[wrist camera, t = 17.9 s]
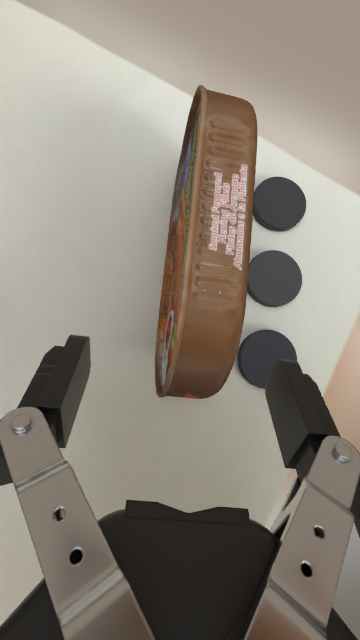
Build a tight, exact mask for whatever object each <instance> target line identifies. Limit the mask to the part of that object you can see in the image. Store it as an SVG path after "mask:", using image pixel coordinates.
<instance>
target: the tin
mask: <svg viewBox="0 0 360 640" xmlns="http://www.w3.org/2000/svg"><path fill="white" fill-rule="evenodd" d="M256 151H257V120H256V114H255V111H254V108H253V106H252V105H251V104H250V103H249V102H248V101H246V100H244V99H241V98H237V97H234V96H230V95H226V94H222V93H218V92H214V91H210V90H207V89H206V88H204V87H203V86H201V85H199V86H198V88H197V90H196V93H195V95H194V98H193V102H192V105H191V109H190V112H189V117H188V121H187V125H186V130H185V135H184V140H183V145H182V151H181V155H180V160H179V165H178V170H177V175H176V181H175V187H174V194H173V202H172V210H171V217H170V225H169V234H168V243H167V251H166V260H165V269H164V277H163V286H162V294H161V302H160V311H159V320H158V329H157V342H156V356H155V383H156V392H157V395H158V396H159V397H165V396H175V397H185V398H198V399H203V398H208V397H210V396H212V395H214V394H216V393H217V392H218V391H219V390H220V389H221V388H222V387H223V385H224V383H225V382H226V380H227V378H228V376H229V374H230V371H231V369H232V366H233V364H234V361H235V358H236V354H237V351H238V347H239V342H240V338H241V333H242V327H243V321H244V315H245V307H246V295H247V282H248V270H249V258H250V243H251V230H252V214H253V201H254V185H255V166H256Z"/></svg>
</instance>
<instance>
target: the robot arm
mask: <svg viewBox="0 0 360 640" xmlns="http://www.w3.org/2000/svg"><path fill="white" fill-rule="evenodd" d="M90 364H91V362H90V338H89V337H86V336H78V335H70V336H69V338H68V340H67V342H66V344H65V346H64V347H62V346H54V347H53V348H52V349H51V350H49V351H48V352H47V353H46V354H45V356H44V357H43V359H42V361H41V363H40V366H39V367H38V369H37V371H36V374H35V375H34V377H33V379H32V381H31V383H30V385H29V386H28V388H27V390H26V392H25V394H24V396H23V398H22V400H21V402H20V404H19V406H18V407H17V408H16V409H14V410H12V411H10V412H9V413H7V414H6V415H5V416H4V417H3V418H2V419H1V420H0V486H1V485H5V484H9V483H14V486H15V489H16V492H17V495H18V498H19V502H20V505H21V508H22V511H23V514H24V517H25V520H26V523H27V526H28V529H29V532H30V535H31V538H32V541H33V544H34V547H35V550H36V554H37V557H38V560H39V563H40V566H41V569H42V572H43V575H44V578H43V579H42V581H41V582H40V583H39V584H38V585H37V586H36V587H35V588H34V589H33V591H32V592H31V593H30V594H29V595H28V596H27V597H26V598H25V599H24V600H23V602H22V603H21V604H20V605H19V606H18V607H17V608H16V609H15V610H14V612H13V613H12V614H11V615H10V616H9V617H8V618H7V619H6V620H5V622H4V623H3V624H2V625H1V626H0V640H358V639H357V638H356V637H355V636H354V634H353V633H352V632H351V631H350V629H349V628H348V627H347V625H346V624H345V623H344V622H343V620H342V619H341V618H340V617H339V615H338V614H337V613H336V612H335V610H334V609H333V608H332V604H333V600H334V596H335V592H336V588H337V584H338V581H339V576H340V573H341V569H342V565H343V561H344V558H345V554H346V550H347V546H348V542H349V539H350V535H351V531H352V527H353V523H355V526H356V529H357V531H358V534H359V537H360V453H359V452H358V450H357V449H356V448H355V447H354V446H353V445H352V444H351V443H350V442H348V441H347V440H345V439H343V438H341V437H340V434H339V432H338V430H337V428H336V426H335V424H334V421H333V419H332V417H331V415H330V413H329V410H328V408H327V406H326V405H325V402H324V399H323V397H321V393H320V391H319V388H318V386H317V384H316V383H315V382H314V381H313V380H312V379H311V377H310V376H309V375H308V374H303V373H302V370H301V368H300V366H299V364H298V362H297V361H290V360H282V359H279V360H277V362H276V364H275V366H274V368H273V370H272V373H271V375H270V377H269V379H268V381H267V384H266V390H265V393H266V399H267V403H268V406H269V410H270V414H271V418H272V421H273V425H274V429H275V432H276V436H277V440H278V443H279V447H280V451H281V454H282V458H283V462H284V465H285V468H291V469H296V471H297V477H296V478H295V480H294V482H293V485H292V487H291V489H290V491H289V493H288V495H287V497H286V500H285V502H284V504H283V506H282V508H281V510H280V512H279V515H278V517H277V518H276V520H275V522H274V524H273V525H272V527H271V529H270V530H268V529H267V528H265V527H264V526H262V525H261V524H259V523H258V522H256V521H254V520H252V519H249V512H248V509H243V508H230V507H215V508H211V509H206V510H202V511H198V512H193V513H186V512H183V511H180V510H177V509H174V508H172V507H169V506H166V505H164V504H161V503H158V502H148V501H135V500H127V501H126V508H125V509H122V510H118V511H115V512H113V513H110V514H108V515H106V516H105V517H103V518H101V519H100V520H98V521H97V520H96V518H95V516H94V514H93V512H92V510H91V507H90V505H89V503H88V501H87V499H86V497H85V495H84V493H83V491H82V488H81V486H80V484H79V482H78V480H77V478H76V476H75V474H74V471H73V469H72V467H71V465H70V464H69V462H68V461H65V460H64V458H63V456H62V453H61V451H60V449H59V448H66V445H67V442H68V439H69V436H70V433H71V430H72V426H73V423H74V420H75V417H76V414H77V411H78V408H79V405H80V402H81V399H82V396H83V393H84V390H85V387H86V384H87V380H88V377H89V373H90Z"/></svg>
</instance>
